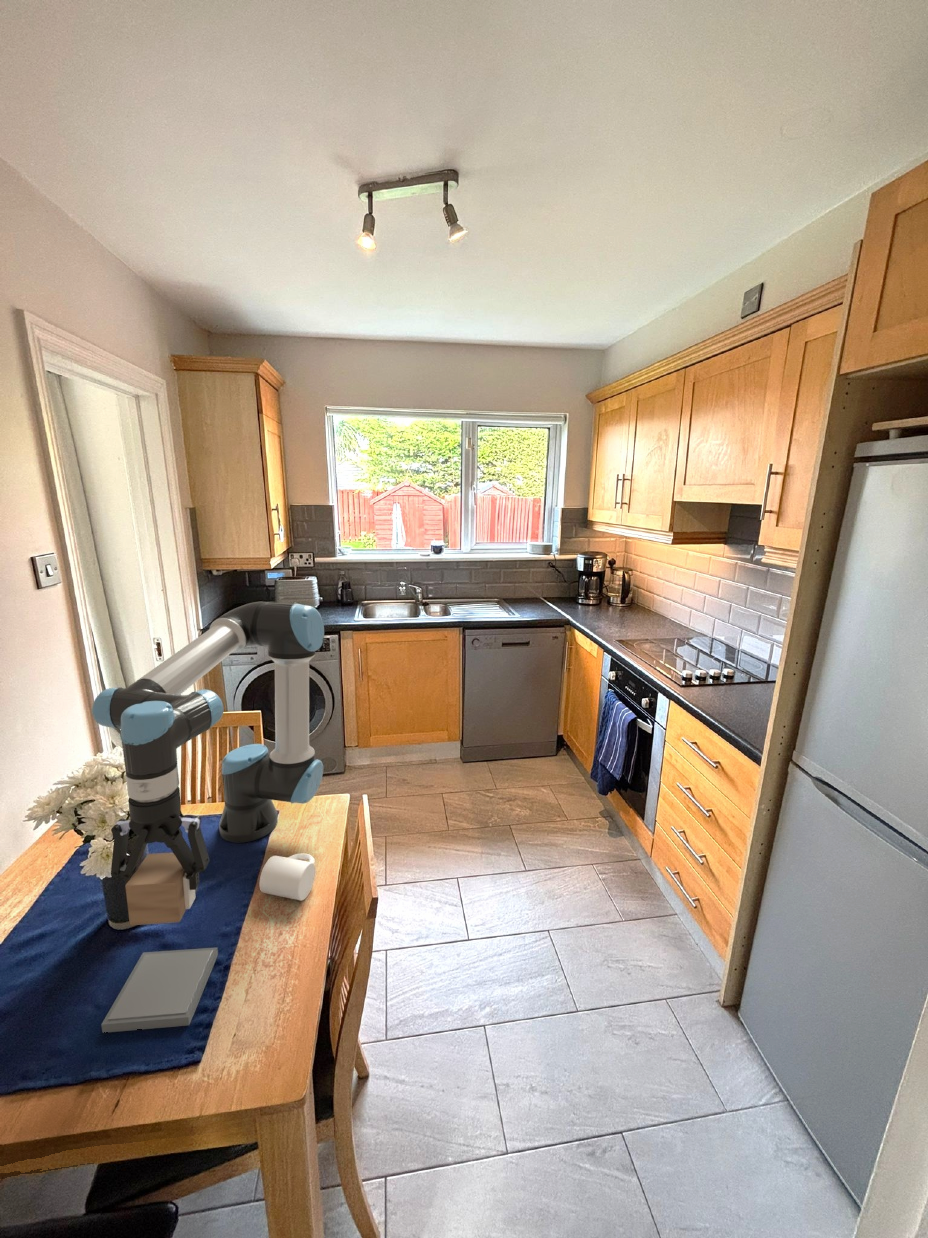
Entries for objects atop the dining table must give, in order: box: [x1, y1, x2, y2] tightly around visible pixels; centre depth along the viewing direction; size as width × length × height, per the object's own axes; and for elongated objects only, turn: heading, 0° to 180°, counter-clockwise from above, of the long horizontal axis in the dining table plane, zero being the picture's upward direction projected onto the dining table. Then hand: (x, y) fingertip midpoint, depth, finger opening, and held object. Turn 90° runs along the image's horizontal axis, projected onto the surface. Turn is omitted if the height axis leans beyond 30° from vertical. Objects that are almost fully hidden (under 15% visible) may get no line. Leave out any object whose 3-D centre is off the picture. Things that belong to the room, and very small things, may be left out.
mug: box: [258, 852, 316, 901], centre depth 118 cm, size 12×10×8 cm
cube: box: [124, 852, 198, 926], centre depth 88 cm, size 8×8×8 cm
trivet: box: [100, 946, 219, 1034], centre depth 92 cm, size 14×14×2 cm
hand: (164, 904), depth 89 cm, fingers closed on cube, 8 cm apart
